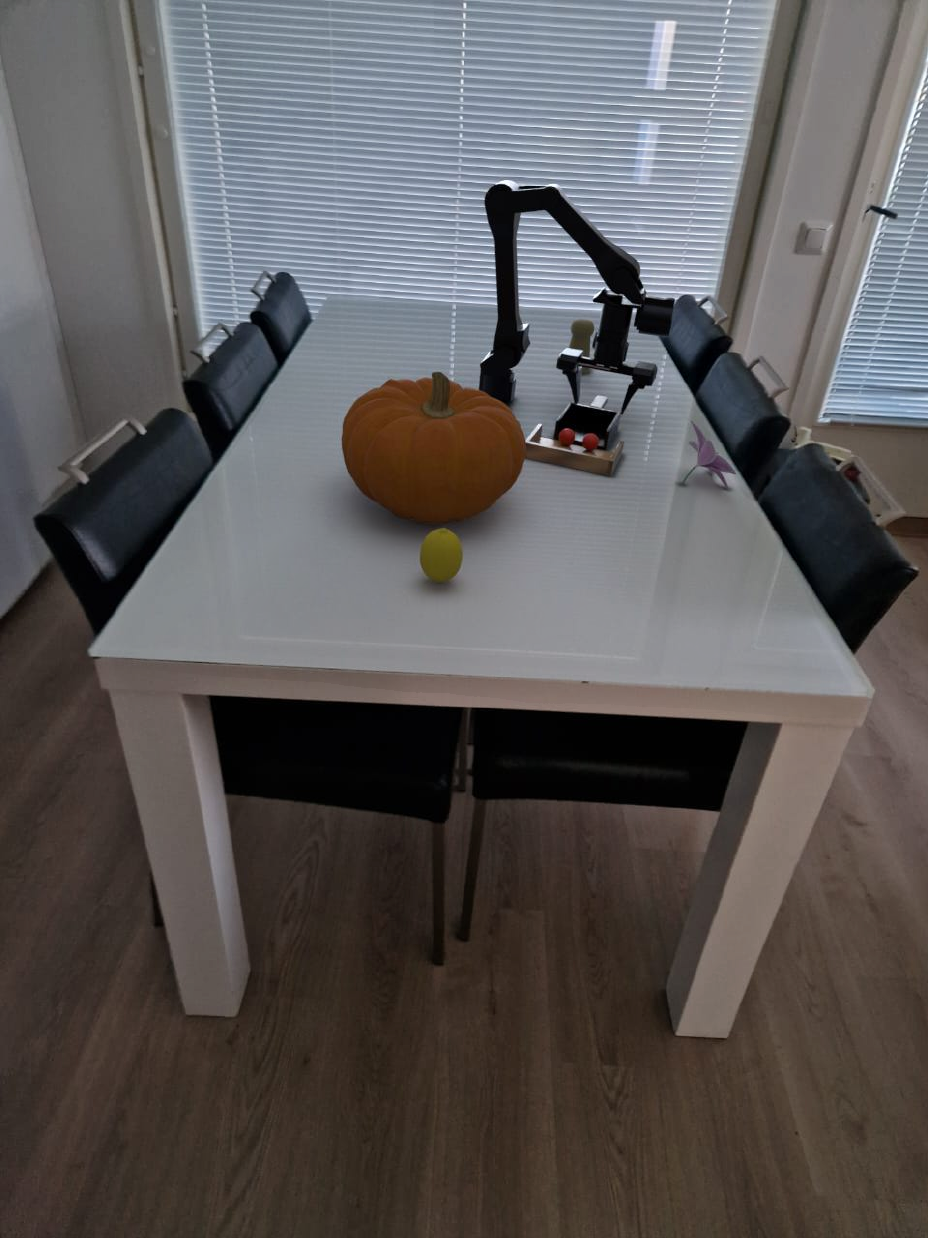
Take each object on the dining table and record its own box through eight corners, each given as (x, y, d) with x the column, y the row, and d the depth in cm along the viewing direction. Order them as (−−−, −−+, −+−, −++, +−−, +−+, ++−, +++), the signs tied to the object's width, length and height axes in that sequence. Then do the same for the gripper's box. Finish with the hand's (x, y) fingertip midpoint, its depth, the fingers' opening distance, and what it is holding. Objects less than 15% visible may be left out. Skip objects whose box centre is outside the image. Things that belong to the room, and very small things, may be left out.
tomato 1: (557, 446, 152) (556, 439, 149) (561, 431, 152) (560, 423, 149) (573, 449, 151) (572, 442, 148) (577, 434, 152) (576, 427, 149)
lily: (725, 510, 137) (759, 459, 134) (665, 474, 135) (699, 422, 133) (707, 500, 148) (739, 453, 146) (652, 466, 147) (683, 418, 144)
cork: (588, 375, 187) (596, 325, 180) (561, 371, 187) (568, 321, 181) (590, 367, 192) (598, 318, 185) (564, 363, 192) (571, 315, 186)
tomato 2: (580, 450, 151) (579, 445, 148) (585, 435, 151) (584, 429, 148) (596, 454, 150) (596, 448, 147) (601, 438, 150) (600, 432, 147)
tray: (521, 456, 145) (523, 441, 144) (536, 437, 153) (538, 423, 152) (610, 476, 142) (613, 461, 140) (621, 455, 150) (624, 441, 148)
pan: (575, 408, 167) (578, 391, 165) (624, 418, 165) (627, 400, 163) (553, 438, 153) (556, 419, 151) (606, 449, 151) (609, 430, 149)
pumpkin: (361, 453, 141) (363, 334, 130) (522, 472, 140) (538, 354, 129) (320, 531, 118) (318, 394, 106) (513, 555, 117) (531, 419, 105)
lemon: (417, 570, 111) (420, 517, 107) (458, 571, 112) (463, 519, 107) (419, 593, 106) (422, 538, 102) (461, 594, 107) (466, 540, 103)
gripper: (669, 327, 159) (652, 406, 168) (575, 311, 164) (563, 388, 172) (660, 341, 150) (643, 423, 159) (561, 324, 155) (549, 405, 164)
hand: (599, 409), depth 164 cm, fingers open, 9 cm apart
